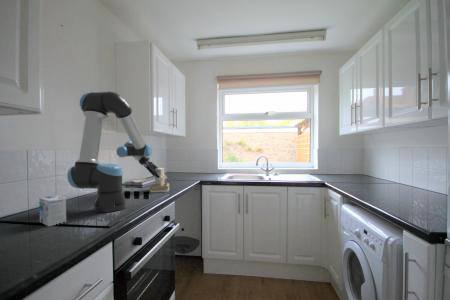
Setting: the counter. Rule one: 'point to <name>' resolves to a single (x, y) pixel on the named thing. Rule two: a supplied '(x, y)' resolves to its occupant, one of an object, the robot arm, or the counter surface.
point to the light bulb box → (52, 210)
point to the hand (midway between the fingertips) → (164, 179)
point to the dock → (159, 188)
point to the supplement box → (161, 173)
